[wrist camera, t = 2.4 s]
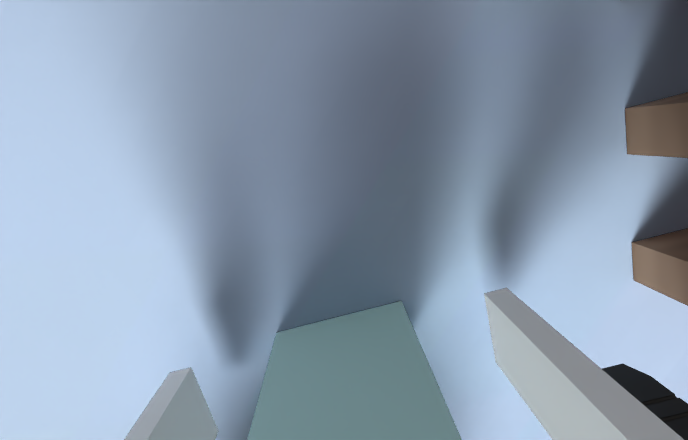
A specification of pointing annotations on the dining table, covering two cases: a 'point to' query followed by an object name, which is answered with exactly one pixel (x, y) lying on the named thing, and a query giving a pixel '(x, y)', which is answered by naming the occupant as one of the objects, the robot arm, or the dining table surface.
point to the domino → (351, 383)
